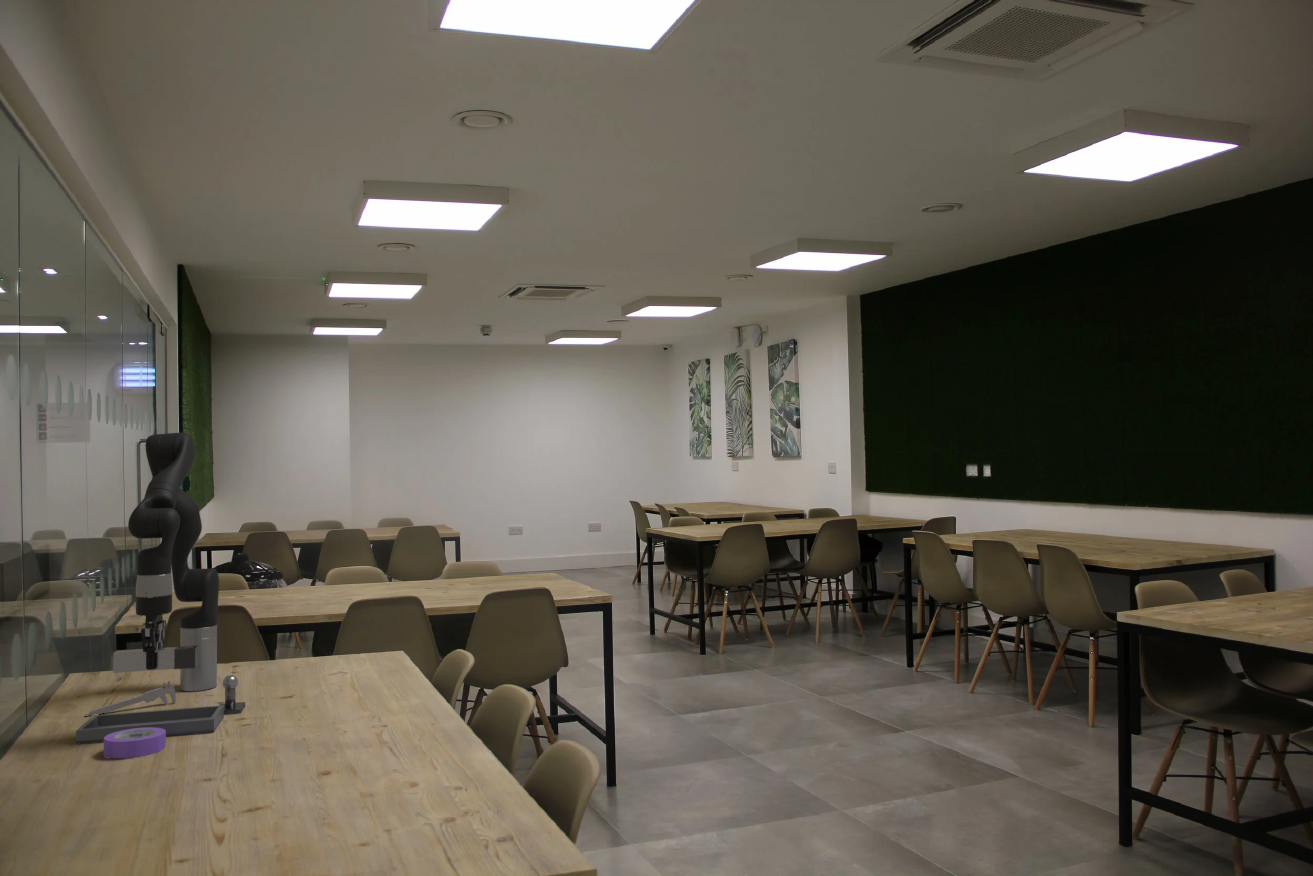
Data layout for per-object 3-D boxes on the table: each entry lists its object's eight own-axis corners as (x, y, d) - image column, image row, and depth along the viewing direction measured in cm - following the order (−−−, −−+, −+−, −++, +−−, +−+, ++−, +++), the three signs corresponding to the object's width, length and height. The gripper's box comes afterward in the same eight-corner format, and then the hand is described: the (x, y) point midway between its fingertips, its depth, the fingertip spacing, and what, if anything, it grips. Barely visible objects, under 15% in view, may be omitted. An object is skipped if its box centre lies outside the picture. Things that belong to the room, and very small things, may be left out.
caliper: (174, 704, 244) (174, 679, 244) (175, 704, 243) (175, 680, 243) (83, 717, 231) (84, 692, 231) (84, 718, 230) (84, 692, 230)
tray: (94, 728, 220) (94, 715, 220) (223, 717, 228) (223, 705, 228) (75, 744, 206) (75, 730, 206) (213, 732, 214) (214, 719, 214)
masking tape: (149, 741, 209) (149, 724, 209) (176, 749, 202) (176, 731, 202) (93, 754, 199) (93, 736, 199) (119, 763, 192) (119, 744, 193)
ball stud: (219, 707, 237) (220, 673, 238) (245, 705, 239) (245, 671, 239) (214, 715, 230) (214, 679, 230) (240, 713, 231) (241, 677, 232)
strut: (117, 669, 217) (117, 650, 217) (198, 664, 222) (198, 645, 222) (112, 673, 213) (112, 653, 213) (195, 668, 218) (195, 648, 218)
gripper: (143, 590, 224) (143, 663, 223) (128, 598, 210) (127, 675, 210) (178, 589, 226) (177, 660, 225) (165, 596, 212) (164, 672, 212)
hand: (153, 667), depth 218 cm, fingers closed on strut, 3 cm apart
